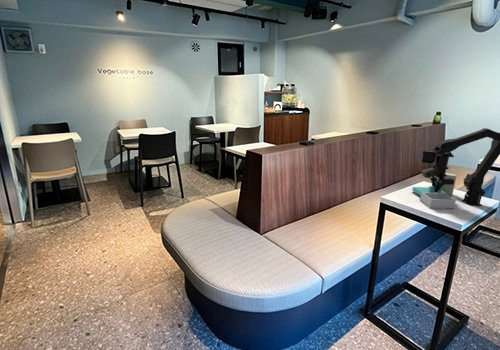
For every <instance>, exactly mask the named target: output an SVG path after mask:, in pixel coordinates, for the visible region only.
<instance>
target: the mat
mask: <svg viewBox="0 0 500 350" xmlns="http://www.w3.org/2000/svg"><path fill="white" fill-rule="evenodd" d="M411 193H412V194H413V195H415V196H416V197H417V198H419V199H420V197H421V196H420V195H419V194H417V193H415V192H414V191H411Z"/></svg>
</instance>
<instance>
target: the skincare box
mask: <svg viewBox="0 0 500 350" xmlns="http://www.w3.org/2000/svg"><path fill="white" fill-rule="evenodd" d="M445 174H446V175H447V177H449V178H451V179H453V180H454V184H453V185H445V184H444V185H443V186H442V191H444V192H445V193H447V194H448V196H450V197H452V196H453V193H454V190H455V185H456V179H457V177H458V176H457V175H458V174H454V173H449V172H446V173H445Z"/></svg>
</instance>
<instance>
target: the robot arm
mask: <svg viewBox="0 0 500 350" xmlns="http://www.w3.org/2000/svg"><path fill="white" fill-rule="evenodd" d="M485 138H490V139H492V140H491V145H490V148H489V150H488V152H487V153H486V154H485V156H484V158H483V159H482V160H481V162H480V163H479V165H477V168H476V169H475V171H474V172H472V173H471V174H470V173H467V174H466V176H465V178H463V186H464V187H465V189H466V190H467V191H466V192H465V194H464V197H463V199H461V201H462V202H463V203H465V204H466V205H469V206H479V207H480V206H482V205H483V204H482V203H481V202H482V201H481V200H482V198H483V196H484V195H485V194H486V191H485V190H484V189H483V188H482V186H483V184H484V181H485V177H486V175H487V173H488V172H489V171H490V169H491V168H492V166H493V165H494V164H495V162H496V161H497V159H498V158H499V156H500V132H498V131H494V130H492V129H490V128H487V127H484V128H482V129H480V130H476V131H473V132H470V133H468V134H465V135H462V136H458V137H456V138H449V139H448V138H447V139H443V140H440V141H438V143H437V145H436V146H435V147H434V148H433V149H432V150H426V149H425V150H424V149H423V150H422V151H421V153H420V155H419V156H418V157H419V159H418V161H419V163H420V164H432V165H431V167H428V168H425V169H422V170H421V175H422V176H423V177H424V178H425V179H429V180H430V182H431V186H435V192H438V191H439V189H440V188H441V187H442V186H443V185H444V184H445V185H453V184H454V180H453V179H451V178H449V177H447V175H446V174H445V173H447V170H449V169H450V168H449V167H448V164H449V159H450V158H455V156H454V154H453V152H454V151H455V150H456V149H458V148H459V147H462V146H464V145H468V144H470V143H474V142H476V141H479V140H483V139H485ZM433 163H434V164H433Z"/></svg>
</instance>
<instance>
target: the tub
mask: <svg viewBox="0 0 500 350" xmlns="http://www.w3.org/2000/svg"><path fill="white" fill-rule="evenodd" d="M419 202H420V203H422V204H423V205H424V206H425V207H427V208H428V209H431V210H432V209H435V210H436V209H437V210H454V209H455V204H456V202H457V201H456V199H454V198H453V197H452V196H448V195H446V194H445V193H424V192H421V197H420V198H419Z"/></svg>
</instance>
